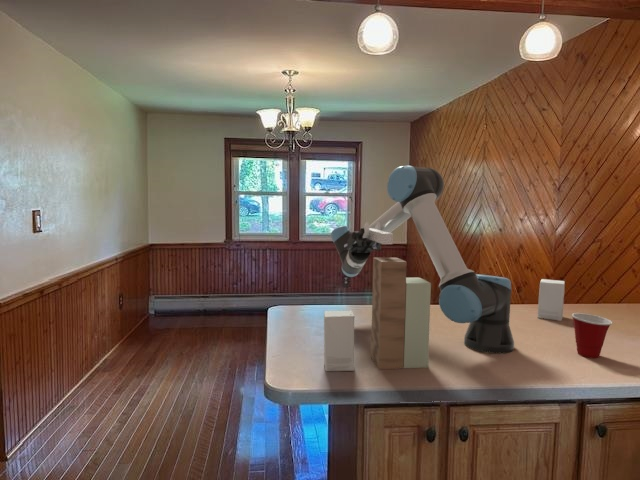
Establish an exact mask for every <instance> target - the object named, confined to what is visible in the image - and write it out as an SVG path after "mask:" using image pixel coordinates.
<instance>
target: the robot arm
mask: <svg viewBox="0 0 640 480" xmlns="http://www.w3.org/2000/svg"><path fill="white" fill-rule="evenodd" d="M386 184H387V185H386V189H387V190H386V192H387V193H388V196H389V198H390V199H391V200H393V201H395V202H396V203H394V204H393V205H392V206H391V207H390V208H389V209H387V210H386V211H385V212H384V213H382V214H381V215H380V216H378V218H377V219H375V220H374V221H373V222H372V223H371V224H369V223H370V222H369V221H365V224H364V226H363V228H360V229H359V231H357V230H355V231H351V230H350V229H349V226H347V225H339V226H337V227H335V228H333V230H332V231H331V232H330V233H331V234H330V235H331V240H332V242H333V244H334V246H335V249H336V251H337V254H338V257H339V260H340V262H341V271H342V273H343V275H345V276H347V277H349V278H353V277H357V276H358V275H359V274H360V273H361V272H362V271H363V268H364V266H365V264H366V262H367V260H368V259H369V257H370V255H371V253H372V252H373V251H374V250H377V251H382V248H381V247H382V244H381V243H378V242H375V241H372V240H370V239H367V238H365V237H366V235H367V233H368V231H369V228H373V229H377V230H381V231H384V232H388V233H392V232H393V231H395V230H396V229H397V228H398V227H400V226H401V225H403V224H404V223H405V222H406V221H407V220H409V219H410V218H411V219H412V220H413V223H414V225H415V227H416V230H417V232H418V234H419V236H420V238H421V240H422V242H423V244H424V247H425V249H426V251H427V253H428V255H429V257H430V259H431V261H432V264H433V265H434V268H435V270H436V272H437V274H438V277H439V278H440V281H439V284H438V288H439V291H440V293H439V299H438V304H439V308H440V310H441V312H442V313H443V315H444V316H445V317H446V318H447V319H448V320H449V321H452V322H454V323H457V324H468V326H467V329H466V332H465V334H464V340H463V344H464V346H465V347H467V348H469V349H472V350H474V351H478V352H482V353H488V354H489V353H490V354H506V353H507V354H508V353H510V352H513V351H514V349H515V341H514V337H513V333H512V330H511V327H510V315H511V313H510V312H511V300H512V299H511V298H512V291H513V290H512V282H511V281H512V280H511V279H509V278H507V277H502V276H498V275H495V276H494V275H488V274H480V273H479V274H478V273H476V272H475V270H472V269H469V268H468V267H467V265H466V264H465V262H464V259H463V258H462V255H461V253H460V251H459V249H458V247H457V245H456V243H455V242H454V239H453V237H452V235H451V233H450V231H449V229H448V227H447V225H446V223H445V221H444V219H443V217H442V215H441V213H440V211H439V209H438V207H437V205H436V202H437V201H438V199H439V198H440V197H441V196H442V194H443V192H444V189H445V181H444V178H443V176H442V174H441V173H440V172H439V171H438V170H437V169H434V168H432V167H424V166H423V167H422V166H421V167H419V166H412V165H401V166H398V167H395V168H394V170H393V171H391V173H390V175H389V176H388V181H387V183H386Z"/></svg>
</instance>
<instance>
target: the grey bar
mask: <svg viewBox="0 0 640 480" xmlns="http://www.w3.org/2000/svg"><path fill="white" fill-rule="evenodd" d="M365 238H367V239H370V240H372V241H375V242H378V243H381V245H394V233H392V232H391V233H388V232H384V231H381V230H377V229H373V228H369V231H368V233H367V235H366V237H365Z"/></svg>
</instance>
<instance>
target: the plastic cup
mask: <svg viewBox="0 0 640 480" xmlns="http://www.w3.org/2000/svg"><path fill="white" fill-rule="evenodd" d="M571 317H572V321H573V326H574V327H573V328H574V335H575V336H574V338H575V344H576V350H577V354H578V355H579V356H581V357H584V358H588V359H589V358H590V359H598V358H599V357H600V355H601V352H602V348H603V345H604V342H605V339H606V337H607V336H606V335H607V332H608V331H609V328H610V326H611V325H612V324H613V321H612V320H611V319H608V318H606V317H602V316H599V315H594V314H590V313H589V314H588V313H583V312H582V313H580V312H575V313H574V312H573V313H572V314H571Z"/></svg>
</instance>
